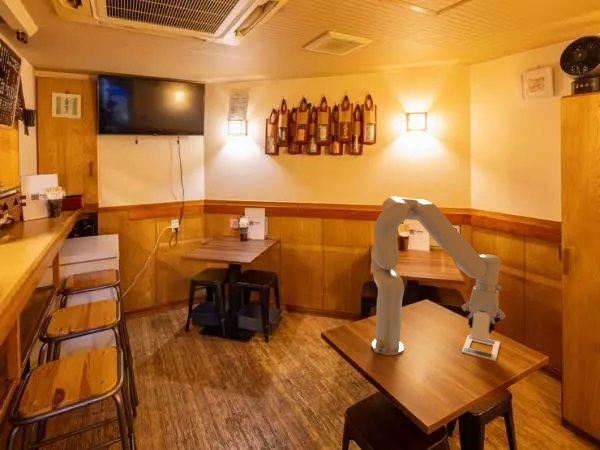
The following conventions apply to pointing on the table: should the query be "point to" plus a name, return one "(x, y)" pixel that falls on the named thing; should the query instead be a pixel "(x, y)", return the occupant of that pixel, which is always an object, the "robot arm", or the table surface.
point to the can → (480, 326)
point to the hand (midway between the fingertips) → (480, 328)
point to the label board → (481, 354)
